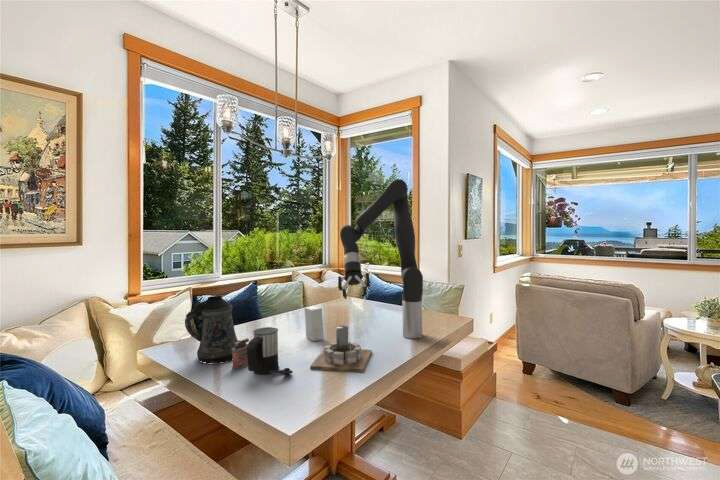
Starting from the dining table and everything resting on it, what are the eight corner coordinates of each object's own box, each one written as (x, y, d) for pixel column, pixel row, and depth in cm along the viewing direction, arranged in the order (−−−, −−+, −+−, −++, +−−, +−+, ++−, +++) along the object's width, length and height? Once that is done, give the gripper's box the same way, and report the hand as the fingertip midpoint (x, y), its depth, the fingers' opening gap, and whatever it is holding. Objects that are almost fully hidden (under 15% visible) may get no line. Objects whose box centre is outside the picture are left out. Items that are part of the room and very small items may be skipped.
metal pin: (349, 355, 136) (349, 325, 136) (347, 359, 132) (346, 329, 132) (338, 354, 137) (337, 325, 137) (335, 359, 133) (334, 328, 132)
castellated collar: (371, 352, 142) (371, 340, 142) (363, 372, 123) (362, 358, 123) (325, 350, 146) (325, 338, 146) (310, 369, 127) (309, 355, 126)
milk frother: (259, 364, 132) (258, 326, 131) (299, 365, 131) (298, 326, 130) (244, 381, 118) (243, 338, 117) (289, 381, 116) (288, 338, 116)
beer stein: (248, 353, 143) (247, 294, 143) (207, 370, 127) (205, 303, 126) (223, 347, 152) (221, 291, 151) (181, 362, 135) (179, 299, 134)
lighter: (236, 370, 126) (235, 343, 126) (230, 368, 128) (229, 342, 128) (253, 363, 133) (252, 337, 133) (247, 361, 135) (246, 336, 135)
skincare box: (324, 339, 161) (323, 308, 160) (312, 341, 158) (311, 310, 157) (316, 335, 168) (315, 305, 167) (304, 337, 165) (304, 306, 164)
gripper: (336, 262, 155) (338, 296, 147) (367, 258, 154) (370, 292, 146) (338, 269, 161) (340, 302, 153) (368, 265, 161) (371, 298, 153)
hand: (355, 297), depth 150 cm, fingers open, 8 cm apart
